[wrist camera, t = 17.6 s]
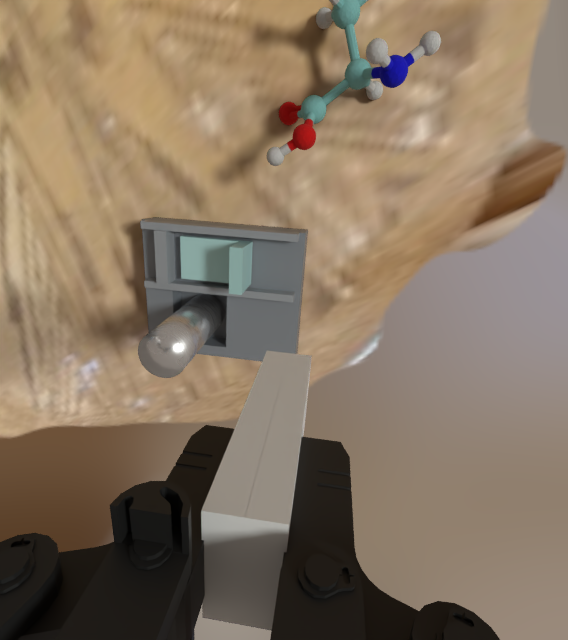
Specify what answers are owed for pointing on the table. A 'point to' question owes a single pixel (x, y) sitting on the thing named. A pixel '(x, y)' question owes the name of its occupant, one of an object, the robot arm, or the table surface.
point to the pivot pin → (181, 336)
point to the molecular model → (349, 75)
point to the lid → (217, 261)
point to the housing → (240, 310)
